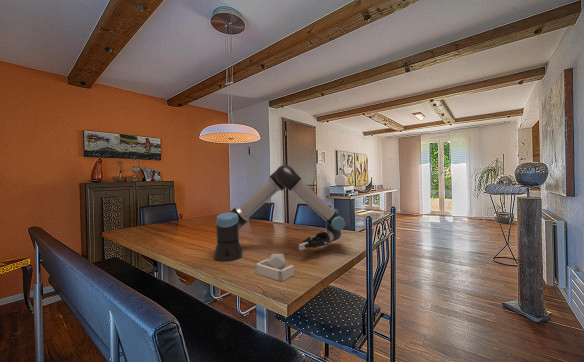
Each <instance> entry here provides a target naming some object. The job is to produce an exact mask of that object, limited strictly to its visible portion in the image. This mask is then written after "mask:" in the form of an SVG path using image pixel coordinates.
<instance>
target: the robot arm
mask: <svg viewBox="0 0 584 362" xmlns="http://www.w3.org/2000/svg"><path fill="white" fill-rule="evenodd" d="M285 189H287V190H288V191H289V192H293V193H294V194H295V195H296V196H297V197H298V198H299V199H301V200H302V201H303V202H304V203H305V204H306V205H307V206H308V207H310V208H311V209H312V210H313V211H314V212H315V213H316V214H317V215H318V216H320V217H321V219H323V220H324V221H325V225H326V226H325V230H323V231H321V232H318V233H317V234H316V235H315V236H313V237H310V236H307V238H305V239H304V240H303V241H302V243H299V245H298V250H299V251H304V250H306V249H308V248H312V249H313V248H314V249H315V248H317V247H321V246H322V247H323V246H327V245H329V244H330V243H333V242H335V241H337V240H339V239H340V238H341V237H342V235H343V234H342V230H343V229H344V228H345V226H346V221H345V220H344V218H343V217H342V216H341V215H339V214H340V213H339V210H338V209H336V208H332V207H330V206H329V204H327V202H325V201H324V200H323V199H322V197H320V196H318V194H316V192H315V191H313V190H312V189H311V188H310V187H309V186H308V185H307V184H305V182H304V181H303V179H302V177H301V176H300V175H298V173H297V172H296V170H295V169H294V168H293V167H292V166H290V165H288V164H284V165H283V164H282V165H280V166H279V167H278V168H277V169H276V170H275V171H274V172H273V173H272V174H270V175H269V176H268V180H267V181H266V182H265V183H264V184H263V185H262V186H261V187H260V188H258V190H256V191H255V192H254V193H253V194H252V195H251V196H249V197H248V198H247V199H246V200H245V201H244V202H243V203H242V204H241V205H240V206H234V208H232V209H231V210H230V211H229V212H223V213H220V214H218V215H217V216H216V221H215V224H216V247H215V248H214V252H213V258H214V259H213V260H215V261H221V262H229V261H234V260H237V259H240V258H242V257H243V250H242V247H241V243H240V238H239V237H240V235H239V233H240V232H239V230H240V229H242V227H243V226H245V225H246V224H247V223H248V222H249V219H250V217H251V216H252V215H253V214H255V212H257V210H258V209H260V208H261V207H262V206H263V205H265V203H267V202H268V201H269V200H270V199H271V198H272V197H273V196H274V195H275V194H277V193H278V192H280V191H281V192H283V190H285Z"/></svg>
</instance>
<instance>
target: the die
mask: <svg viewBox="0 0 584 362" xmlns="http://www.w3.org/2000/svg"><path fill="white" fill-rule="evenodd" d="M268 259H269V261H268V266H269V267H272V268H275V269H279V270H282V269H284V268H286V266H287V261H286V258H285V256H284V253H271V255H270V257H269V258H268Z"/></svg>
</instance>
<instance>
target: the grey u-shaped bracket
mask: <svg viewBox="0 0 584 362" xmlns="http://www.w3.org/2000/svg"><path fill="white" fill-rule="evenodd" d="M269 259H270V258H266V259H264V260H262V261H259V262H256V263H254V264H253V265H254V274H257V275H259V276H263V277H266V278H270V279H273V280H276V281H278V282H283V281H285V280H287V279H289V278H291V277H293V276H294V275H295V266H294V265H291V264H290V265H289V266H287V267H286V266H285V268H284V269H282V270H279V269H275V268H272V267H269V266H268V261H269Z"/></svg>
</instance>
